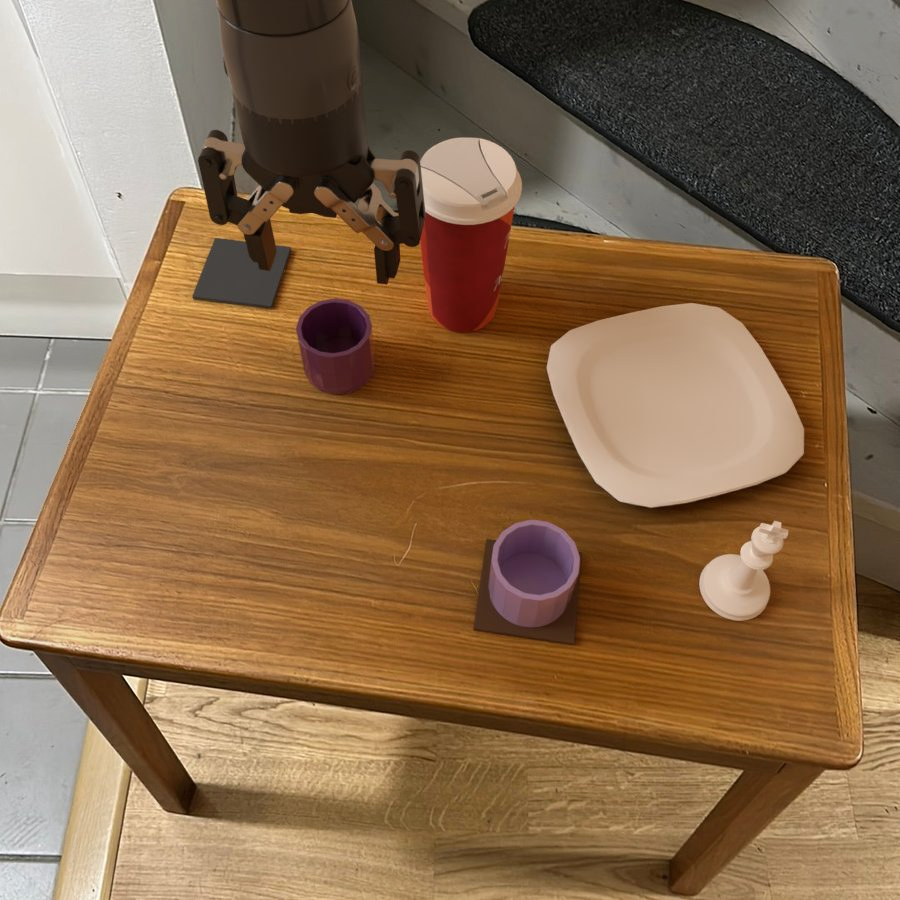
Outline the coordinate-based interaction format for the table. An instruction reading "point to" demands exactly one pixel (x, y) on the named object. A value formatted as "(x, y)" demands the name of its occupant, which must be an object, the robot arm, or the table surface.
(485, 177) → the coffee cup
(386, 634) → the table surface
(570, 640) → the front mat
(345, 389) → the purple faceted tumbler
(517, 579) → the lavender faceted cup
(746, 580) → the chess piece
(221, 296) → the back mat
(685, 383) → the plate
